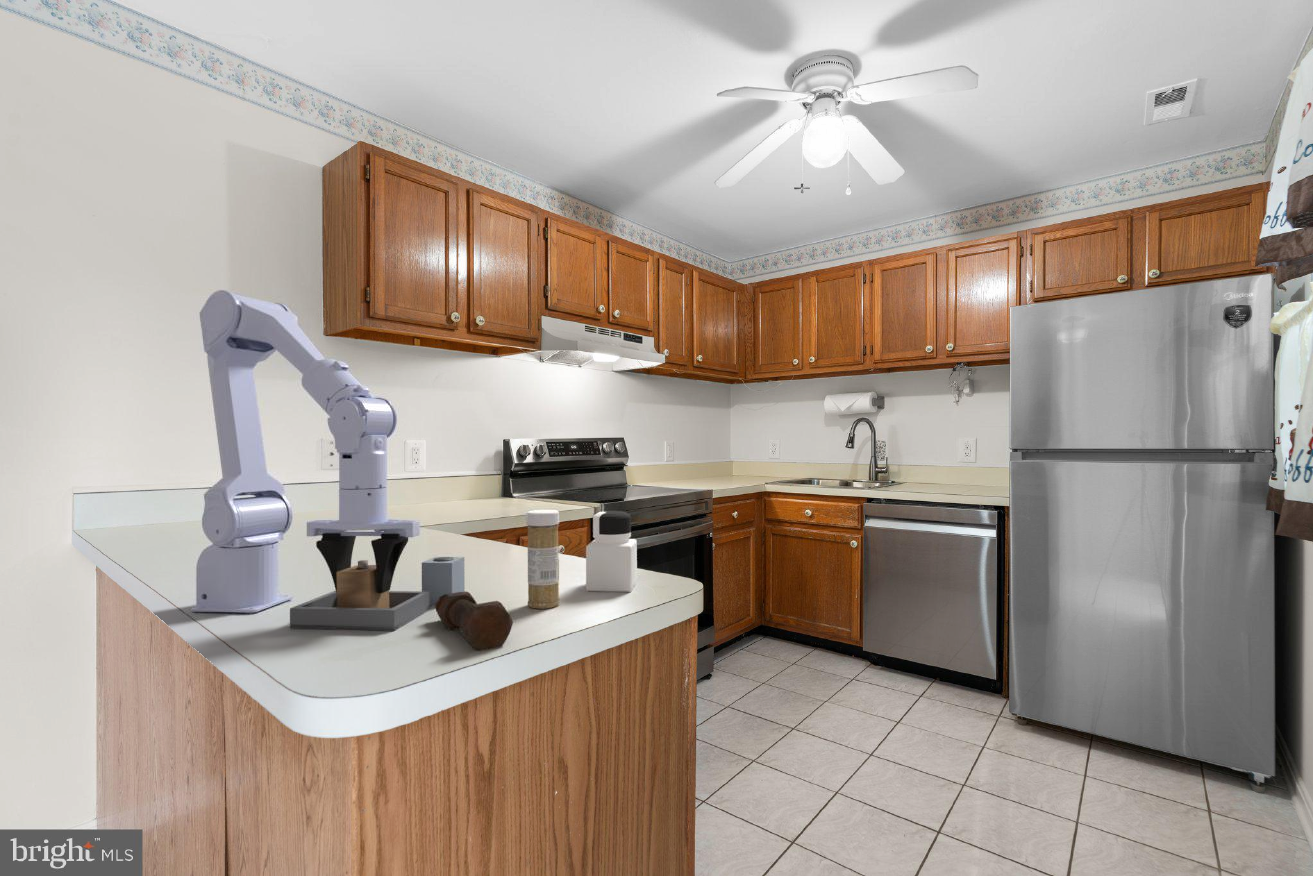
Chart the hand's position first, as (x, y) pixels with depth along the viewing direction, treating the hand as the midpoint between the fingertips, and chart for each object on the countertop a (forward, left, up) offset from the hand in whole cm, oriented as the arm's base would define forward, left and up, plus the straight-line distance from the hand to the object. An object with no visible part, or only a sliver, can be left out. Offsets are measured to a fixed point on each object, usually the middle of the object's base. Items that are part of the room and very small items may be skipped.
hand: (363, 591), depth 81 cm
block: (0, 0, -3) cm, 3 cm away
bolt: (+16, -5, -4) cm, 17 cm away
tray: (0, 0, -4) cm, 4 cm away
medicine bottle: (+30, +20, -4) cm, 36 cm away
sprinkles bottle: (+22, +8, -4) cm, 24 cm away
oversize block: (+7, +10, -4) cm, 12 cm away
